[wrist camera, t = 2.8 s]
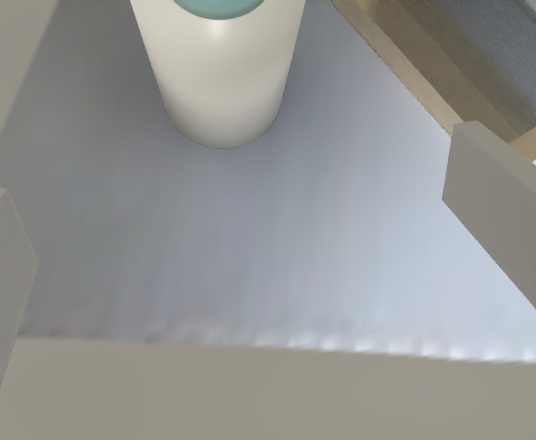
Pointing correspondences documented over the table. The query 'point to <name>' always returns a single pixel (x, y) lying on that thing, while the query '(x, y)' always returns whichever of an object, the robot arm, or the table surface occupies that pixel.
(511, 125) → the grey open box
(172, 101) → the cream bottle
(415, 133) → the table surface
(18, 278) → the robot arm
